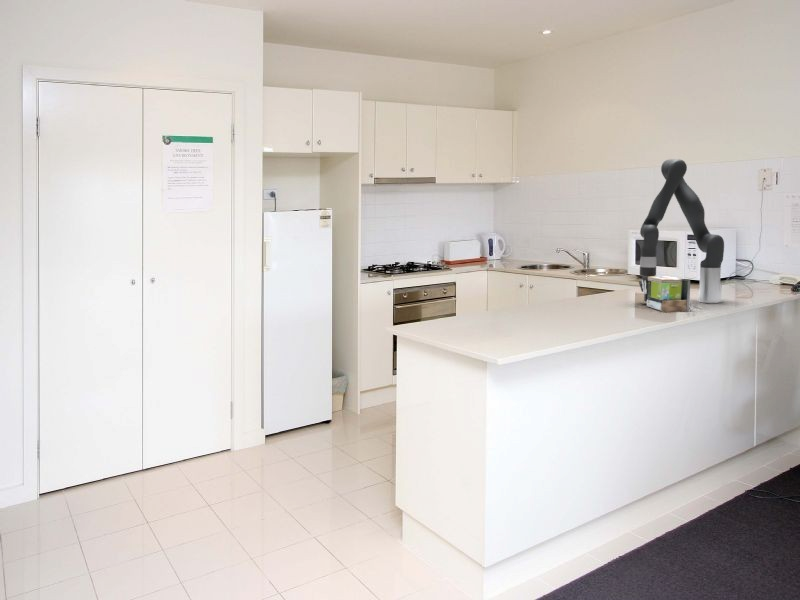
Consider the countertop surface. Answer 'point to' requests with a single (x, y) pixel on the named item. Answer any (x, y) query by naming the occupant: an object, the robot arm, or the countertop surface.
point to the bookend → (685, 291)
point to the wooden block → (674, 305)
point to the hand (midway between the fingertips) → (646, 301)
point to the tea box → (662, 290)
